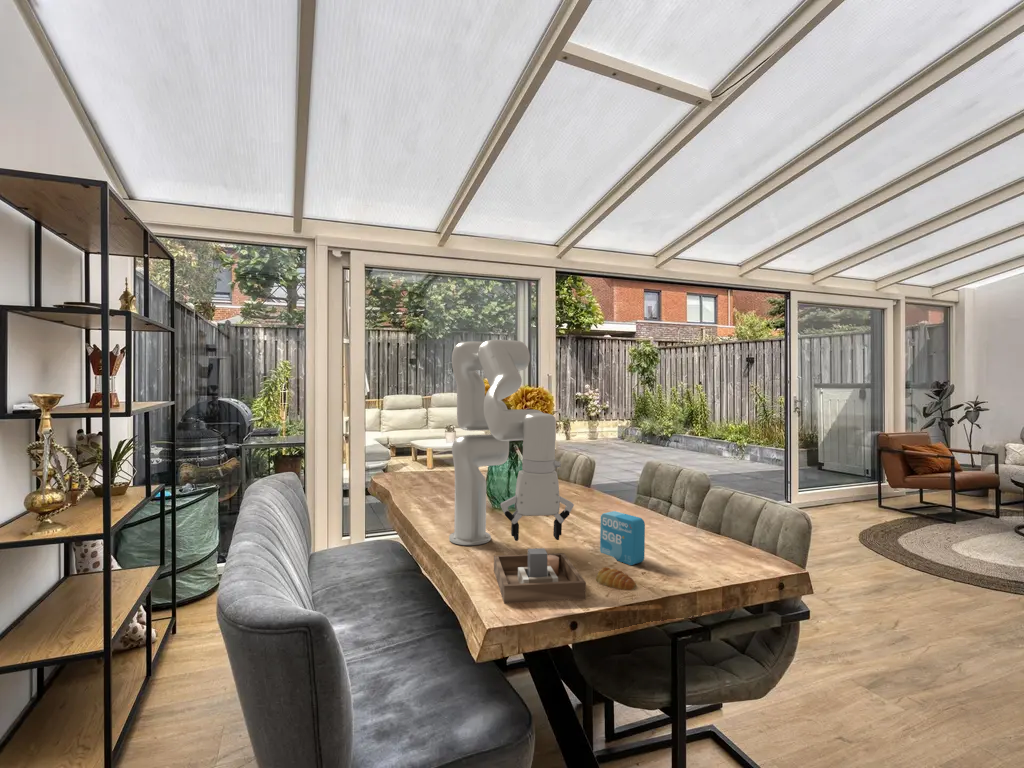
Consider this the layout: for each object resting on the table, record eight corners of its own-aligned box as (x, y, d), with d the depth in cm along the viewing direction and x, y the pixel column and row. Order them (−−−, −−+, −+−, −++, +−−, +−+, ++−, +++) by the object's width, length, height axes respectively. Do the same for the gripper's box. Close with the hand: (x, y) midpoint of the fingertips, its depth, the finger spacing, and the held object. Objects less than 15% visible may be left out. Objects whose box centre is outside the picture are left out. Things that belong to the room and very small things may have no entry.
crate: (493, 573, 135) (493, 555, 135) (563, 570, 138) (563, 553, 138) (504, 606, 116) (504, 586, 116) (585, 602, 118) (585, 582, 118)
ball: (539, 571, 135) (539, 555, 135) (556, 570, 136) (556, 554, 136) (542, 577, 131) (543, 561, 131) (560, 576, 131) (560, 560, 131)
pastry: (642, 589, 127) (642, 573, 127) (625, 597, 122) (626, 580, 122) (609, 578, 133) (609, 563, 133) (592, 586, 129) (592, 570, 129)
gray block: (527, 582, 128) (527, 548, 127) (544, 581, 128) (544, 548, 128) (529, 588, 124) (530, 554, 124) (547, 588, 124) (547, 553, 124)
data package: (599, 555, 151) (600, 512, 151) (610, 551, 154) (611, 509, 153) (633, 567, 141) (634, 521, 141) (644, 563, 144) (645, 518, 144)
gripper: (570, 463, 131) (568, 532, 131) (499, 463, 128) (497, 534, 129) (578, 469, 123) (576, 543, 124) (503, 469, 121) (501, 545, 121)
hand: (536, 538), depth 126 cm, fingers open, 9 cm apart
